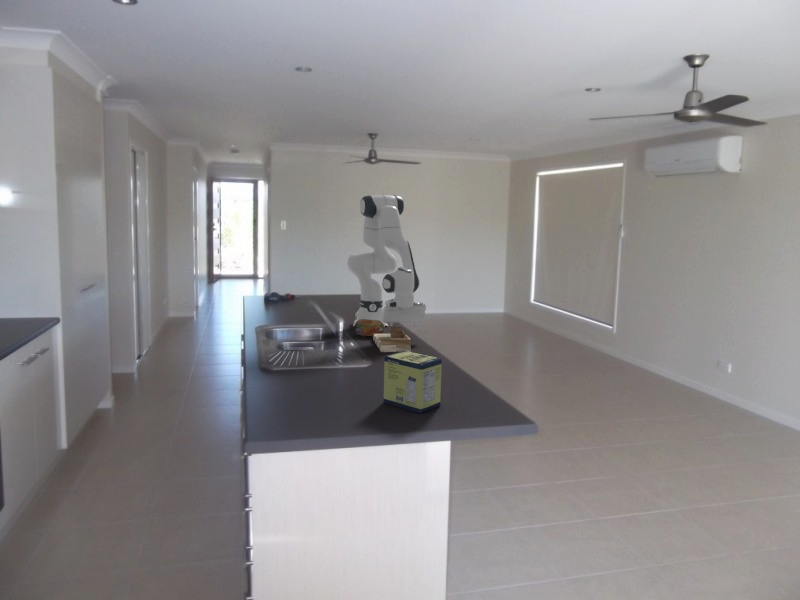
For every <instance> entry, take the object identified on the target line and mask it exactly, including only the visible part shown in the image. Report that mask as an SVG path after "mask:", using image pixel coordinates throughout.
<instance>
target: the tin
mask: <svg viewBox="0 0 800 600" xmlns="http://www.w3.org/2000/svg"><path fill="white" fill-rule="evenodd" d="M353 327H354V326H353ZM353 329H354V331H355V333H356V335H358V336H359V335H363V336H362V337H365V336H372V337H371V338H373V334H385V330H386V327H385V326H384V324H383V323H382V322H381V321H379V320H369V319H360V320H358V321H357V322H356V323H355V327H354V328H353Z"/></svg>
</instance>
